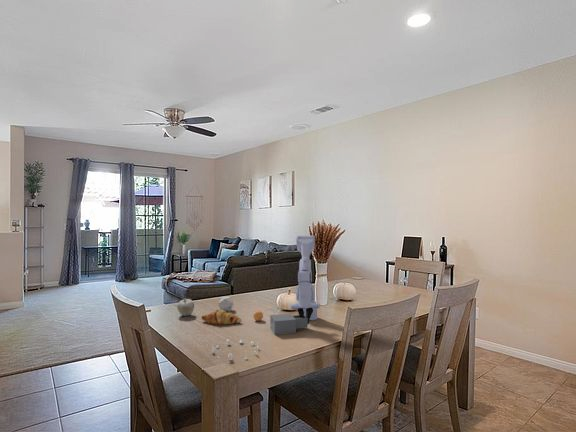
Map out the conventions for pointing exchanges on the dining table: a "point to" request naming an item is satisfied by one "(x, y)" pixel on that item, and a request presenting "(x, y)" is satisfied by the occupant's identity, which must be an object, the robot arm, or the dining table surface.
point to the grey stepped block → (287, 323)
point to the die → (226, 303)
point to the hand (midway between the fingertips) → (304, 323)
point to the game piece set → (231, 354)
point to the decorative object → (185, 307)
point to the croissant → (221, 318)
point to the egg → (258, 315)
